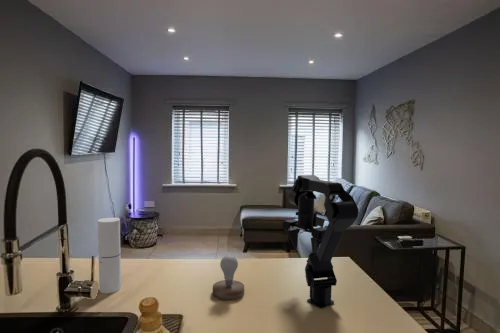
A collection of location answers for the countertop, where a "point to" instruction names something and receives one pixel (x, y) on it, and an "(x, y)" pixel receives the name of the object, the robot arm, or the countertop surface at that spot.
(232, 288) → the walnut base
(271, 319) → the countertop surface
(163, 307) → the countertop surface
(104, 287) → the cylindrical container
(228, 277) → the lightbulb
